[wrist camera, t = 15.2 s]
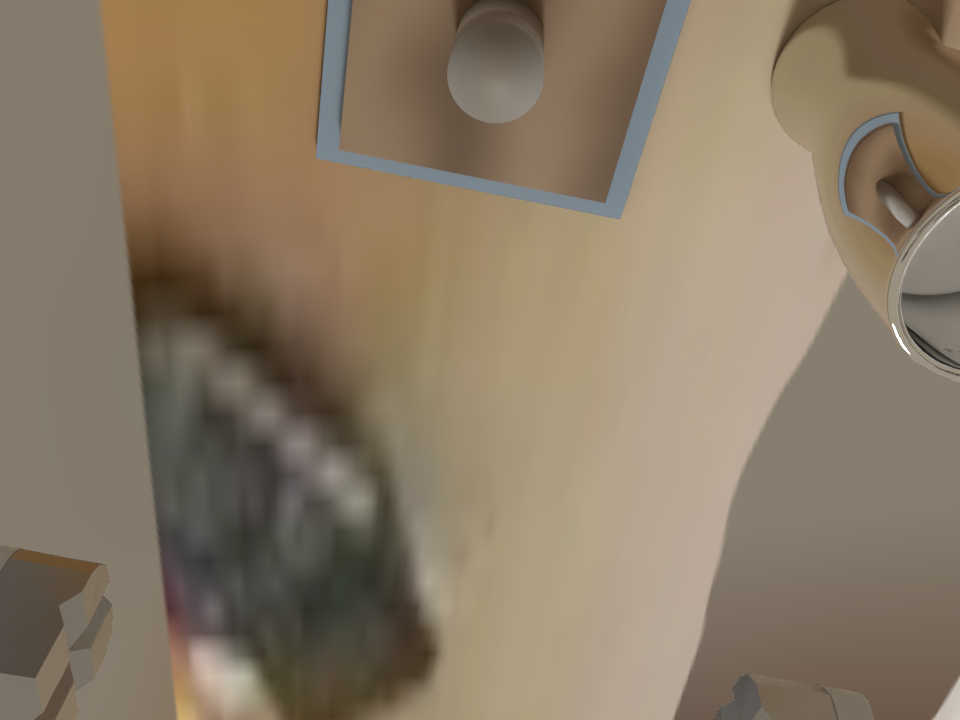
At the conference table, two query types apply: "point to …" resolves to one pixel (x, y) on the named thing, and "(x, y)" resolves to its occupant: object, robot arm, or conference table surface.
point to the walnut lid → (499, 87)
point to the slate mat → (613, 208)
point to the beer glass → (884, 161)
